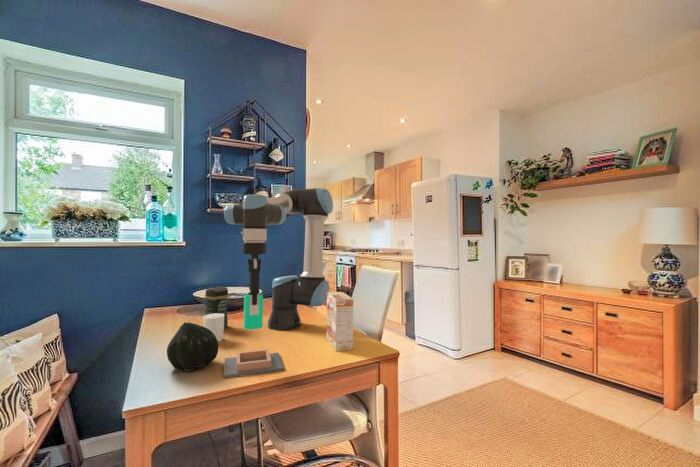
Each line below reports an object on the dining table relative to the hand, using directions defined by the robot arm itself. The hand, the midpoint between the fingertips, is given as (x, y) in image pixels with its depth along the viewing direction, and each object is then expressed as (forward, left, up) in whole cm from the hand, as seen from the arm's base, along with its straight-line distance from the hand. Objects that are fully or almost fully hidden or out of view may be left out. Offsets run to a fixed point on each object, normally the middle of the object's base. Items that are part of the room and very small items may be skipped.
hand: (253, 312), depth 108 cm
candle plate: (0, 0, -18) cm, 18 cm away
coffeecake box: (-33, -12, -18) cm, 39 cm away
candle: (0, 0, -5) cm, 5 cm away
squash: (+19, -5, -18) cm, 26 cm away
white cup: (+14, -31, -18) cm, 38 cm away
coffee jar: (+14, -49, -18) cm, 54 cm away
